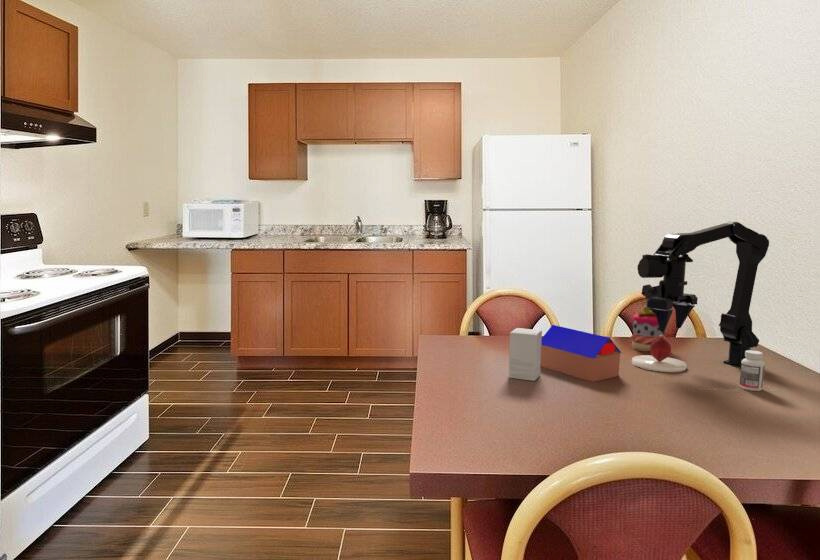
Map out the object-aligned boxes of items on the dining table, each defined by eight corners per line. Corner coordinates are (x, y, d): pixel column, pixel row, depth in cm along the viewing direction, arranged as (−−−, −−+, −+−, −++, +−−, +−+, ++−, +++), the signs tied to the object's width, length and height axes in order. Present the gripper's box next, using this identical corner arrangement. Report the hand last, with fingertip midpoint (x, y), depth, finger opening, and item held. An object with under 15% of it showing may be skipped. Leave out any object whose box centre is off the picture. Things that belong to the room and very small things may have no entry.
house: (563, 360, 185) (566, 322, 183) (620, 376, 169) (623, 335, 167) (536, 365, 178) (538, 326, 177) (592, 383, 162) (595, 340, 160)
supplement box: (540, 375, 168) (543, 329, 166) (534, 381, 161) (536, 334, 159) (514, 371, 171) (516, 327, 169) (507, 377, 164) (509, 331, 162)
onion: (672, 364, 178) (674, 337, 176) (651, 363, 179) (653, 336, 178) (667, 359, 183) (669, 333, 182) (647, 358, 184) (649, 332, 183)
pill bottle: (747, 384, 164) (751, 348, 162) (767, 390, 159) (770, 353, 157) (734, 386, 161) (737, 350, 160) (753, 392, 156) (757, 355, 155)
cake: (625, 344, 208) (628, 301, 206) (654, 344, 209) (657, 301, 207) (639, 352, 197) (643, 306, 196) (670, 352, 199) (674, 306, 197)
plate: (648, 356, 192) (648, 352, 191) (695, 367, 180) (696, 363, 180) (622, 363, 182) (622, 359, 182) (669, 375, 171) (670, 371, 171)
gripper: (664, 272, 190) (661, 322, 192) (631, 276, 178) (628, 329, 180) (700, 276, 181) (696, 328, 183) (667, 280, 169) (663, 335, 171)
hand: (670, 330), depth 180 cm, fingers open, 9 cm apart
